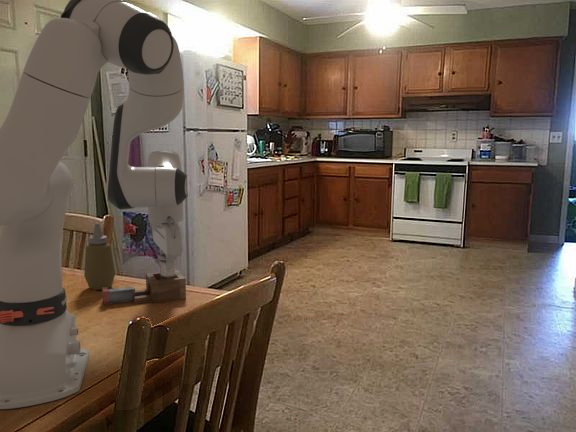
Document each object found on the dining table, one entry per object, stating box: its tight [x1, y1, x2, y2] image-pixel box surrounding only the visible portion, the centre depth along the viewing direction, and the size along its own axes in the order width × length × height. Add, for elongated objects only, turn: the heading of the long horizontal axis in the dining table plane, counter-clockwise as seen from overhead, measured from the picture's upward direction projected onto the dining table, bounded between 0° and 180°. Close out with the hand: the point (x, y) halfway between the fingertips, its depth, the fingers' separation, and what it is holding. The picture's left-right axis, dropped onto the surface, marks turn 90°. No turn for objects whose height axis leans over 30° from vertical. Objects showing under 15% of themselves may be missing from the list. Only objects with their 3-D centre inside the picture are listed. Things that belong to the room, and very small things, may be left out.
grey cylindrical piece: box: [157, 254, 178, 280], centre depth 135 cm, size 5×5×10 cm
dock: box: [133, 269, 187, 304], centre depth 135 cm, size 9×13×6 cm
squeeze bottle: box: [84, 223, 116, 291], centre depth 140 cm, size 8×8×18 cm
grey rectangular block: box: [101, 285, 136, 307], centre depth 130 cm, size 4×8×4 cm, turn 116°
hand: (167, 265), depth 134 cm, fingers closed on grey cylindrical piece, 4 cm apart
